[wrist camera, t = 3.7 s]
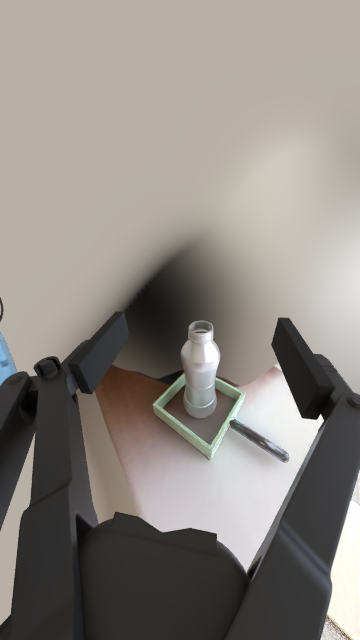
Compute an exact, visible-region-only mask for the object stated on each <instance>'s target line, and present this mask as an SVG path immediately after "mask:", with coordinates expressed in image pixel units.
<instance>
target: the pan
mask: <svg viewBox="0 0 360 640" xmlns="http://www.w3.org/2000/svg"><path fill="white" fill-rule="evenodd" d="M185 384H186V381H185V373H183V374H182V375H181V376H180V377H179V378H178V379H177V380H176V381H175V382H174V383H173V384H172V385H171V386H170V387H169V388H168V389H167V390H166V392H165V393H164V394H163V395H162V396H161V397H160V398H159V399H158V400H157V401H156V402H155V403H154V404H153V409H154V414H156V415H157V416H158V417H159V418H161V419H162V420H163V421H164V422H165V423H167V424H168V425H169V426H170V427H171V428H173V429H174V430H175V431H176V432H177V433H179V434H180V435H181V436H182V437H183V438H185V439H186V440H187V441H188V442H190V443H191V444H192V445H193V446H194V447H196V448H197V449H198V450H199V451H200V452H202V453H203V454H204V455H205V456H206V457H208V458H209V459H210V460H211V459H212V457H213V455H214V454H215V452H216V450H217V448H218V447H219V445H220V443H221V441H222V439H223V438H224V436H225V434H226V432H227V431H228V429H229V427H230V426H231V428H232V429H234V430H235V431H237V432H238V433H240V434H241V435H243V436H244V437H246V438H247V439H249V440H250V441H252V442H253V443H255V444H256V445H258V446H259V447H261V448H262V449H264V450H265V451H267V452H268V453H270V454H271V455H273V456H274V457H276V458H277V459H279V460H280V461H282V462H288V461H289V455H288V453H287V452H286V451H285V450H283V449H281V448H280V447H278V446H277V445H275V444H274V443H272V442H270V441H269V440H267V439H266V438H264V437H262V436H261V435H259V434H258V433H256V432H255V431H253V430H251V429H250V428H248V427H247V426H245V425H243V424H242V423H240V422H239V421H237V420H235V419H234V418H235V416H236V414H237V413H238V411H239V409H240V407H241V406H242V404H243V402H244V397H245V393H244V392H242V391H240V390H239V389H237V388H235V387H233V386H231V385H229V384H227V383H225V382H224V381H222V380H220V379H218V378H216V377H215V389H217V390H218V391H220V392H222V393H224V394H225V395H227V396H229V397H231V398H232V399H234V400H236V401H237V402H236V404H235V405H234V407H233V409H232V410H231V412H230V414H229V415H228V417H227V419H226V420H225V422H224V424H223V425H222V427H221V429H220V430H219V432H218V434H217V435H216V437H215V439H214V440H213V442H212V444H211V445H209V444H207V443H206V442H205V441H204V440H202V439H201V438H200V437H199V436H197V435H196V434H195V433H193V432H192V431H191V430H190V429H188V428H187V427H186V426H184V425H183V424H182V423H181V422H179V421H178V420H177V419H175V418H174V417H173V416H172V415H170V414H169V413H168V412H166V411H165V410H164V409H163V407H164V406H165V405H166V404H167V403H168V402H169V401H170V400H171V399H172V398H173V397H174V395H175V394H176V393H177V392H178V391H179V390H180V389H181V388H182V387H183V386H184V385H185Z"/></svg>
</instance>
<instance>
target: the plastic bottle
mask: <svg viewBox="0 0 360 640" xmlns="http://www.w3.org/2000/svg"><path fill="white" fill-rule="evenodd" d="M213 335H214V334H213V325H212V324H211V323H209V322H207V321H196V322H193V323H192V324H191V325H190V326H189V334H188V338H189V340H188V341H187V342H186V343H185V345H184V346H183V348H182V351H181V360H182V365H183V369H184V373H185V381H186V384H185V392H184V398H183V403H184V406H185V409H186V411H187V413H188V414H189V415H191V416H192V417H194V418H199V419H202V418H206V417H208V416H210V415H211V414H212V413H213V411H214V409H215V406H216V403H217V400H216V393H215V376H216V371H217V368H218V364H219V360H220V351H219V348H218V347H217V345H216V343H215V342H214V341H213Z"/></svg>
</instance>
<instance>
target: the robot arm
mask: <svg viewBox="0 0 360 640" xmlns="http://www.w3.org/2000/svg"><path fill="white" fill-rule="evenodd" d="M0 304H1V315H0V321H1V319H2V316H3V304H2V301H1V298H0ZM128 338H129V332H128V328H127V324H126V320H125V315H124V312H115V313H114V314H113V315H112V316H111V317H110V319H109V320H108V321H107V322H106V323H105V324H104V325H103V326H102V327H101V328H100V329H99V330H98V331H97V332H96V333H95V334H94V336H93V337H92V338H91V339H90V340H86V341H84V342H82V343H81V344H80V345H79V346H78V347H77V348H76V349H75V350H74V351H73V352H72V353H71V354H70V355H69V356H68V357H67V358H66V359H65V360H64V361H63V362H62V363H60V361H59V359H58V358H57V357H55V356H51V357H47V358H44V359H42V360H40V361H39V362H37V363H36V364H35V366H34V370H35V372H36V373H37V376H31V377H30V376H29V375H28V374H27V372H24V371H23V372H17V369H16V366H15V363H14V361H13V358H12V355H11V353H10V351H9V348H8V346H7V344H6V341H5V339H4V337H3V335H2V334H1V332H0V530H1V527H2V524H3V522H4V519H5V516H6V513H7V510H8V507H9V505H10V501H11V499H12V496H13V493H14V490H15V488H16V485H17V482H18V479H19V476H20V473H21V471H22V468H23V465H24V462H25V459H26V456H27V453H28V451H29V448H30V445H31V442H32V439H33V436H34V434H35V446H34V460H33V474H32V488H31V500H30V505H29V507H28V508H27V509H26V510H25V511H24V512H23V514H22V517H21V522H20V529H19V538H18V549H17V558H16V569H15V578H14V588H13V598H12V608H11V615H10V616H9V617H8V618H7V619H6V620H5V621H4V622H3V623H2V624H1V625H0V640H320V639H321V635H322V631H323V627H324V623H325V620H326V616H327V612H328V608H329V604H330V600H331V595H332V581H331V569H332V565H333V562H334V558H335V555H336V551H337V548H338V544H339V541H340V537H341V533H342V530H343V526H344V523H345V519H346V516H347V512H348V509H349V505H350V501H351V498H352V494H353V491H354V487H355V484H356V480H357V477H358V473H359V470H360V395H358V394H356V393H353V391H352V390H351V389H350V387H349V386H348V385H347V383H346V382H345V381H344V380H343V378H342V377H341V375H340V374H339V373H338V372H337V370H336V369H335V368H334V366H333V365H332V363H331V362H330V361H329V360H328V359H327V358H325V357H324V356H323V355H321V354H313V353H312V351H311V350H310V348H309V347H308V345H307V344H306V342H305V341H304V339H303V338H302V336H301V335H300V333H299V332H298V330H297V329H296V327H295V326H294V325H293V323H292V322H291V320H290V319H289V318H278V322H277V326H276V329H275V333H274V337H273V341H272V344H271V345H272V347H273V350H274V352H275V355H276V357H277V359H278V362H279V364H280V367H281V369H282V371H283V374H284V376H285V379H286V381H287V383H288V386H289V388H290V391H291V393H292V395H293V398H294V400H295V403H296V405H297V407H298V410H299V412H300V414H301V417H302V418H305V419H314V420H317V419H318V417H319V415H320V414H321V415H322V417H323V419H324V422H323V423H322V425H321V427H320V428H319V430H318V433H317V435H316V437H315V439H314V441H313V443H312V445H311V447H310V449H309V451H308V453H307V455H306V457H305V459H304V461H303V463H302V465H301V467H300V469H299V471H298V473H297V475H296V477H295V479H294V481H293V483H292V485H291V487H290V489H289V491H288V493H287V495H286V497H285V499H284V501H283V503H282V505H281V507H280V509H279V511H278V513H277V515H276V517H275V519H274V521H273V523H272V525H271V527H270V529H269V531H268V533H267V535H266V537H265V539H264V541H263V543H262V545H261V546H260V548H259V550H258V552H257V554H256V555H255V557H254V559H253V561H252V563H251V565H250V567H249V569H248V571H247V573H246V571H245V570H244V568H243V566H242V565H241V564H240V562H239V561H238V559H237V558H236V557H235V556H234V555H233V553H232V552H231V551H230V550H229V549H228V548H227V547H225V546H224V545H223V544H222V543H220V542H219V541H217V534H215V533H211V532H206V531H202V530H197V529H192V528H187V529H182V530H176V531H170V532H160V531H159V530H157V529H156V528H154V527H153V526H151V525H150V524H148V523H147V522H146V521H144V520H143V519H141V518H140V517H137V516H132V515H128V514H124V513H119V512H115V514H114V518H113V519H109V520H107V521H104V522H102V523H100V524H98V519H97V515H96V512H95V509H94V506H93V502H92V496H91V489H90V482H89V475H88V468H87V461H86V454H85V447H84V441H83V434H82V426H81V420H80V412H79V406H78V399H77V394H76V390H77V389H78V388H79V389H80V391H81V392H82V393H86V394H92V393H93V392H94V390H95V389H96V387H97V386H98V384H99V382H100V381H101V379H102V378H103V376H104V375H105V373H106V372H107V370H108V369H109V367H110V366H111V364H112V363H113V361H114V359H115V358H116V356H117V355H118V353H119V352H120V350H121V349H122V347H123V345H124V344H125V343H126V341H127V339H128ZM35 431H36V432H35Z"/></svg>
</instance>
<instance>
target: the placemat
mask: <svg viewBox="0 0 360 640" xmlns="http://www.w3.org/2000/svg"><path fill="white" fill-rule="evenodd" d="M331 581H332V595H331V600H330V604H329V608H328V612H327V616H328V617H329V618H330V619H331V620H332V621H333V622H334V623H335V624H336V625H337V626H338V627H339V628H340V629H341V630H342V631H343V632H344V633H345V634H346V635H347V636H348V637H349V638H350V639H351V640H360V505H358V504H357V503H355V502H354V501H352V500H351V501H350V505H349V509H348V512H347V516H346V519H345V523H344V526H343V530H342V533H341V537H340V541H339V544H338V548H337V551H336V555H335V558H334V562H333V565H332V569H331Z"/></svg>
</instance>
